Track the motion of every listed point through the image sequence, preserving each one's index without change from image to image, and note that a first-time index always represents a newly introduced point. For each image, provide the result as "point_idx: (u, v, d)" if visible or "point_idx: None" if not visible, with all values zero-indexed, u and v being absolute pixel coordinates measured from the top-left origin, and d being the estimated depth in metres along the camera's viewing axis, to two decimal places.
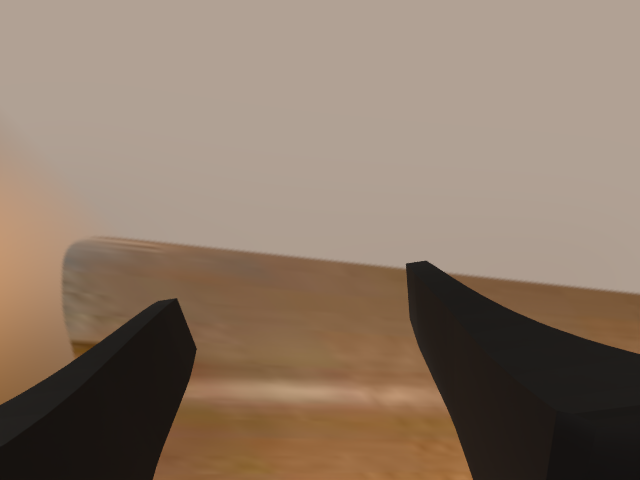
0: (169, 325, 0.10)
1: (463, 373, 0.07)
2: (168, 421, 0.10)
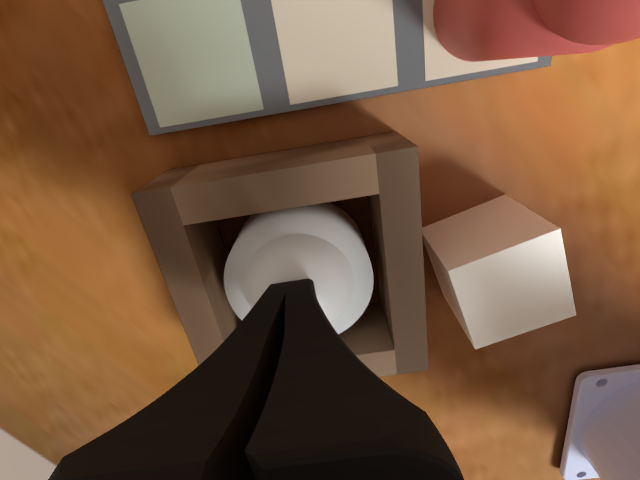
0: None
1: None
2: None
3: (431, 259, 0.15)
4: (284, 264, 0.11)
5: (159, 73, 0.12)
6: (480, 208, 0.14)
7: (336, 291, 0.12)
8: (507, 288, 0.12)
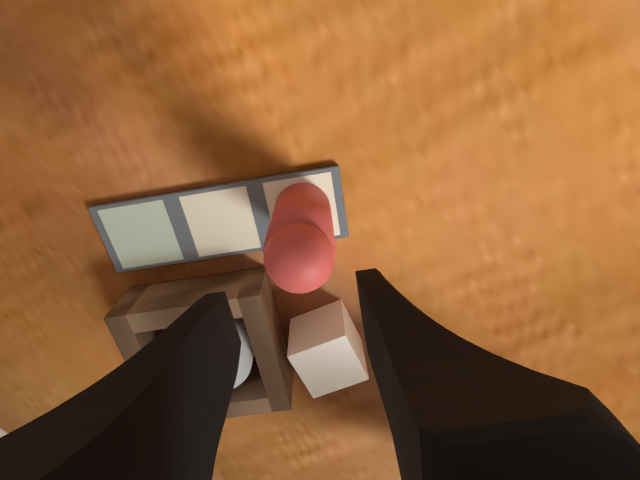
0: (220, 318, 0.10)
1: (388, 383, 0.07)
2: (222, 414, 0.10)
3: None
4: None
5: (121, 242, 0.20)
6: (324, 308, 0.22)
7: None
8: (324, 365, 0.20)
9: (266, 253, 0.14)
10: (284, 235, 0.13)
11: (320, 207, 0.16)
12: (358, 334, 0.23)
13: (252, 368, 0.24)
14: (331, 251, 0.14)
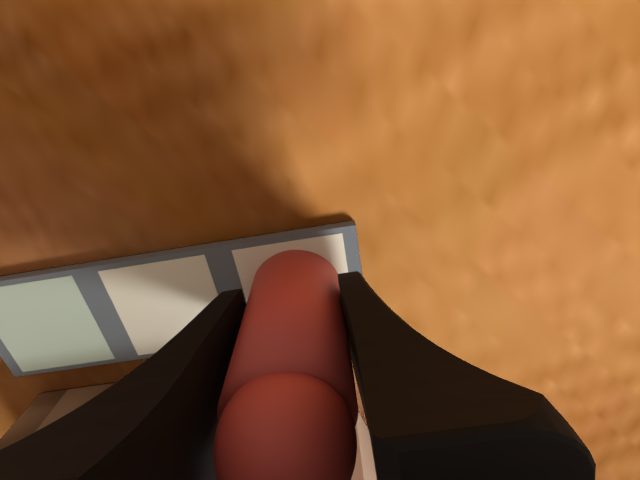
0: (238, 315, 0.10)
1: (362, 387, 0.07)
2: None
3: None
4: None
5: (15, 336, 0.13)
6: None
7: None
8: None
9: (215, 450, 0.07)
10: (251, 423, 0.06)
11: (326, 313, 0.09)
12: None
13: None
14: (352, 443, 0.07)
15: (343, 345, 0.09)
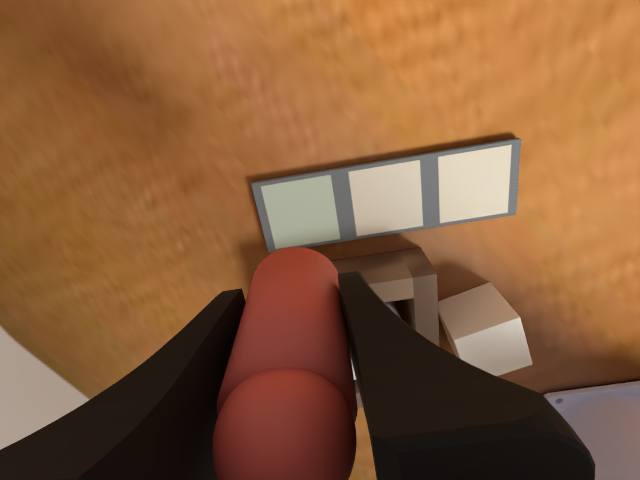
0: (238, 315, 0.10)
1: (362, 387, 0.07)
2: None
3: (442, 322, 0.22)
4: None
5: (279, 220, 0.19)
6: (473, 292, 0.21)
7: None
8: (489, 349, 0.19)
9: (215, 445, 0.07)
10: (251, 418, 0.06)
11: (326, 310, 0.09)
12: None
13: None
14: (351, 438, 0.07)
15: (342, 341, 0.09)
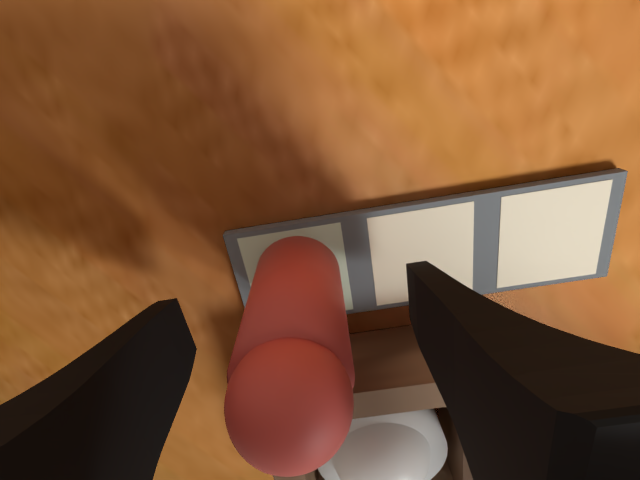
0: (169, 325, 0.10)
1: (463, 373, 0.07)
2: (168, 421, 0.10)
3: None
4: (377, 458, 0.13)
5: None
6: None
7: (420, 476, 0.13)
8: None
9: (227, 405, 0.07)
10: (259, 378, 0.07)
11: (326, 290, 0.10)
12: None
13: None
14: (349, 399, 0.07)
15: (341, 318, 0.09)
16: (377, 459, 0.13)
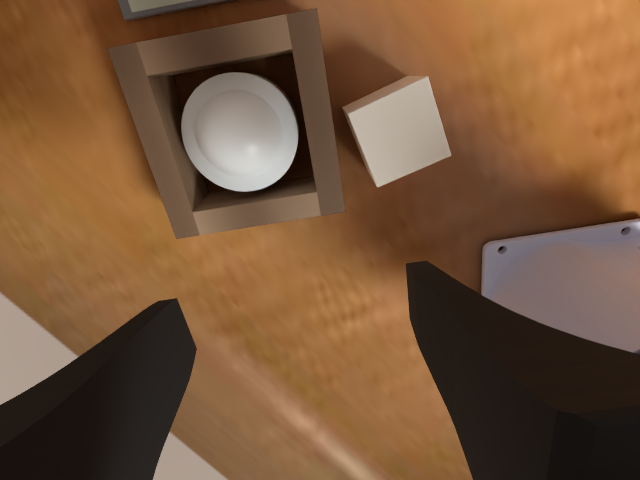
0: (169, 325, 0.10)
1: (463, 373, 0.07)
2: (168, 421, 0.10)
3: (352, 132, 0.18)
4: (223, 106, 0.15)
5: None
6: (386, 86, 0.18)
7: (264, 130, 0.15)
8: (395, 130, 0.15)
9: None
10: None
11: None
12: None
13: (291, 181, 0.19)
14: None
15: None
16: (223, 107, 0.15)
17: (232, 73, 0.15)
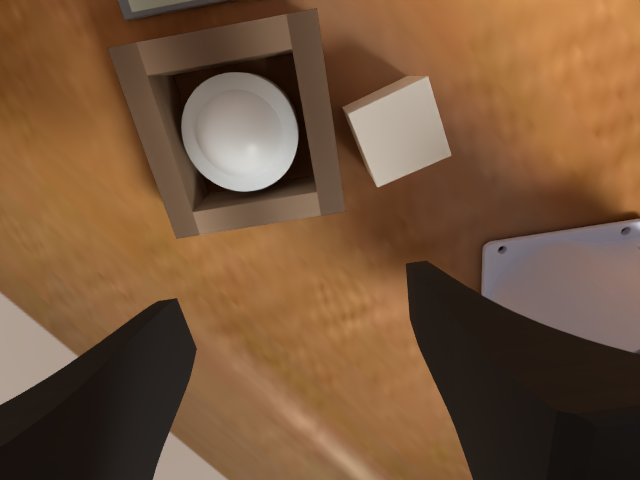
0: (169, 325, 0.10)
1: (463, 373, 0.07)
2: (168, 421, 0.10)
3: (352, 132, 0.18)
4: (223, 106, 0.15)
5: None
6: (386, 86, 0.18)
7: (264, 130, 0.15)
8: (395, 130, 0.15)
9: None
10: None
11: None
12: None
13: (291, 181, 0.19)
14: None
15: None
16: (223, 107, 0.15)
17: (232, 73, 0.15)
